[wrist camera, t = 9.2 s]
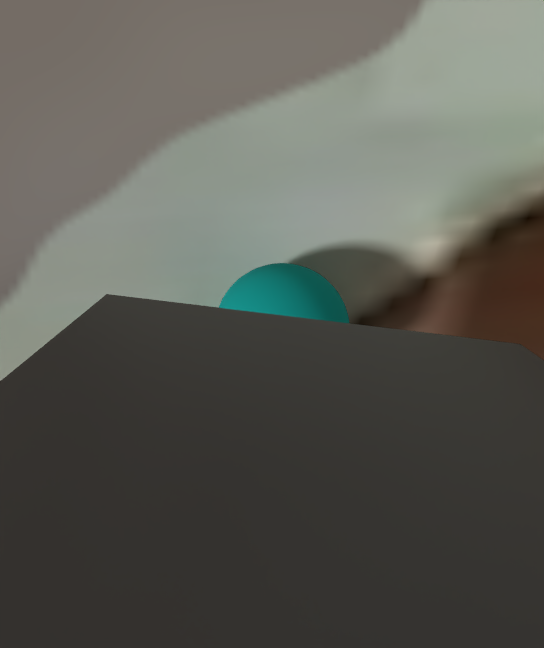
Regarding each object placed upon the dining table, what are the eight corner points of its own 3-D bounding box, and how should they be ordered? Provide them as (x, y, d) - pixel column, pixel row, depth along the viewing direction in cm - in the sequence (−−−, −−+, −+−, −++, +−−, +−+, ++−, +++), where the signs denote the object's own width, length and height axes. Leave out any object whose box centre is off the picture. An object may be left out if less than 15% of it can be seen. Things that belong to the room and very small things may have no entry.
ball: (297, 218, 17) (277, 304, 20) (186, 268, 14) (188, 356, 18) (397, 300, 15) (355, 378, 18) (288, 375, 12) (266, 447, 16)
